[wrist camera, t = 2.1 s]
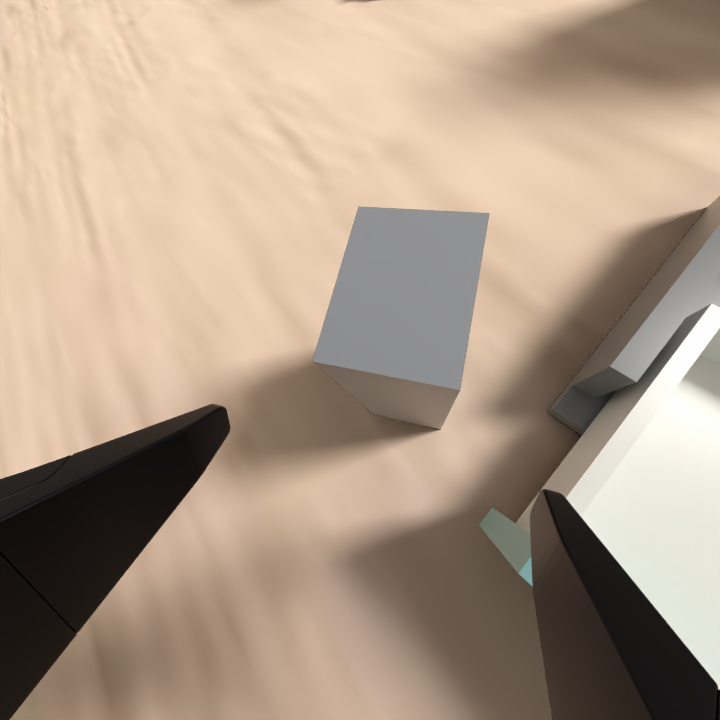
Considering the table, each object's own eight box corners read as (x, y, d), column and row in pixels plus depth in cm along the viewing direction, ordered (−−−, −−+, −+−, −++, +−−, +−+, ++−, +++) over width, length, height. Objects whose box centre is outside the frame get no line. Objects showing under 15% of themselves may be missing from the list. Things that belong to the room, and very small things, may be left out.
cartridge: (455, 343, 21) (489, 213, 10) (440, 429, 20) (459, 389, 9) (391, 333, 22) (358, 206, 11) (372, 414, 21) (312, 361, 10)
